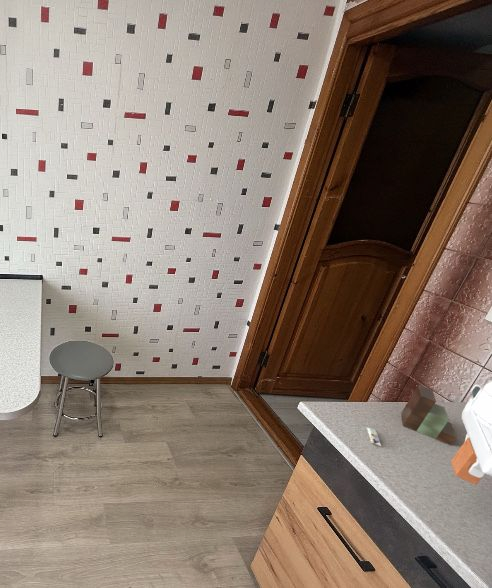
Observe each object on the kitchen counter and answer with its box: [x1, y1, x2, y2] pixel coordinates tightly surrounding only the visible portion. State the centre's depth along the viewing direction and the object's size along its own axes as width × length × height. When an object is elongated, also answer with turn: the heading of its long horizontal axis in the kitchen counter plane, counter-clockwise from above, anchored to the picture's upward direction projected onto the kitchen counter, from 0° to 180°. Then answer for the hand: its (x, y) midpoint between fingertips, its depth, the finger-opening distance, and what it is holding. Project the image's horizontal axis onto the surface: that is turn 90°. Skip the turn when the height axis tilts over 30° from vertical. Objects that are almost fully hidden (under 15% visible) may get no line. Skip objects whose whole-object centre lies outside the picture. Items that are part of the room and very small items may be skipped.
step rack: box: [400, 384, 457, 446], centre depth 94 cm, size 10×7×11 cm
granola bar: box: [365, 426, 382, 447], centre depth 91 cm, size 7×2×1 cm, turn 150°
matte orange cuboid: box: [450, 437, 482, 486], centre depth 68 cm, size 3×5×7 cm, turn 141°
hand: (469, 463), depth 69 cm, fingers closed on matte orange cuboid, 5 cm apart
